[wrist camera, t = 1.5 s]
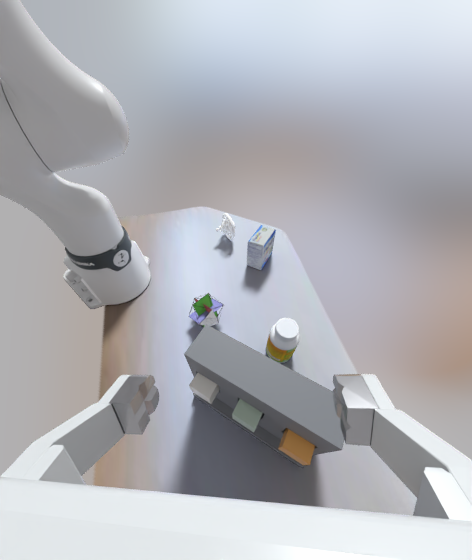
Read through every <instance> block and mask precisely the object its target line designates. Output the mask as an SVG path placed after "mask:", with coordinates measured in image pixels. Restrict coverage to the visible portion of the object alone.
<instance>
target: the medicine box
mask: <svg viewBox="0 0 472 560" xmlns="http://www.w3.org/2000/svg"><path fill="white" fill-rule="evenodd" d="M275 231H276V230H275V229H272V228H269V227H266V226H262V225H261V226H260V227H259V229H258V230H257V231H256V232H255V234H254V235H253V236H252V237H251V239H250V240H249V241H248V248H247V266H250V267H253V268H256V269H258V270H262V268H263V267H264V265H265V263H266V262H267V260H268V259H269V257H270V255H271V254H272V249H273V243H274V237H275Z"/></svg>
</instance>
